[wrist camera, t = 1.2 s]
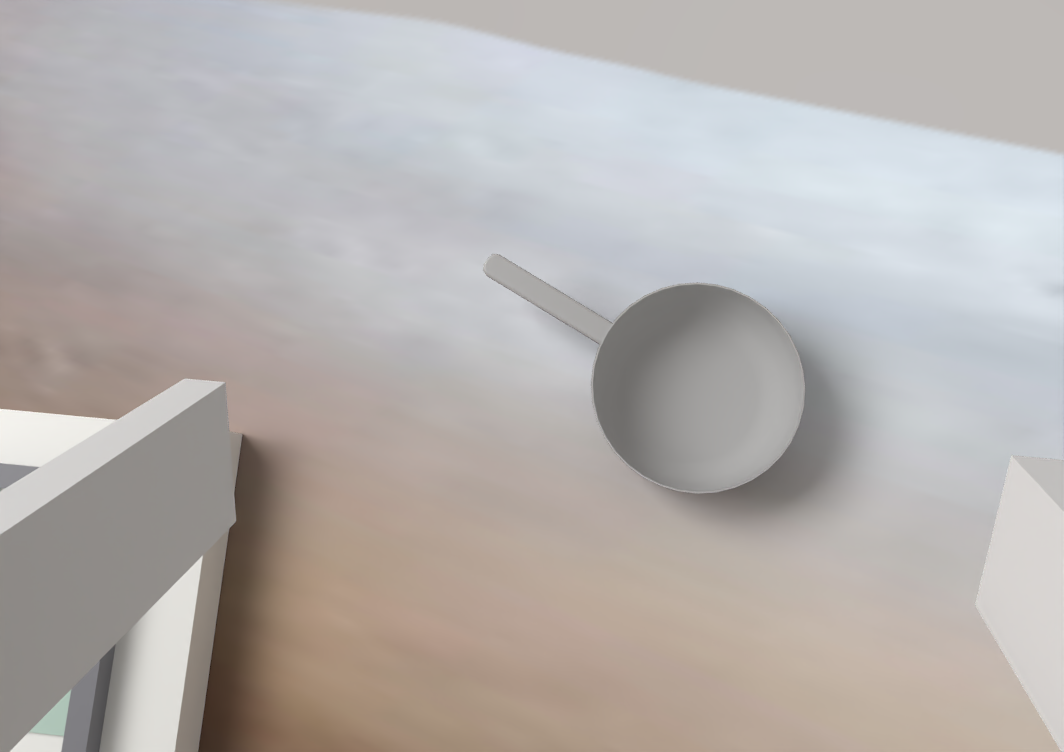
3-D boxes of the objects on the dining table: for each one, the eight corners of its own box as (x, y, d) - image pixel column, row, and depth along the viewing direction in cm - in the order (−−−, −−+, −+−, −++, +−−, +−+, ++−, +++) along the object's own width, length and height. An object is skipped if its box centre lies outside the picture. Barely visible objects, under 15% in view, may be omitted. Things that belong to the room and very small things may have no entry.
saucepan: (725, 532, 46) (738, 535, 42) (441, 359, 48) (430, 347, 44) (824, 361, 47) (846, 349, 43) (542, 199, 49) (540, 174, 45)
